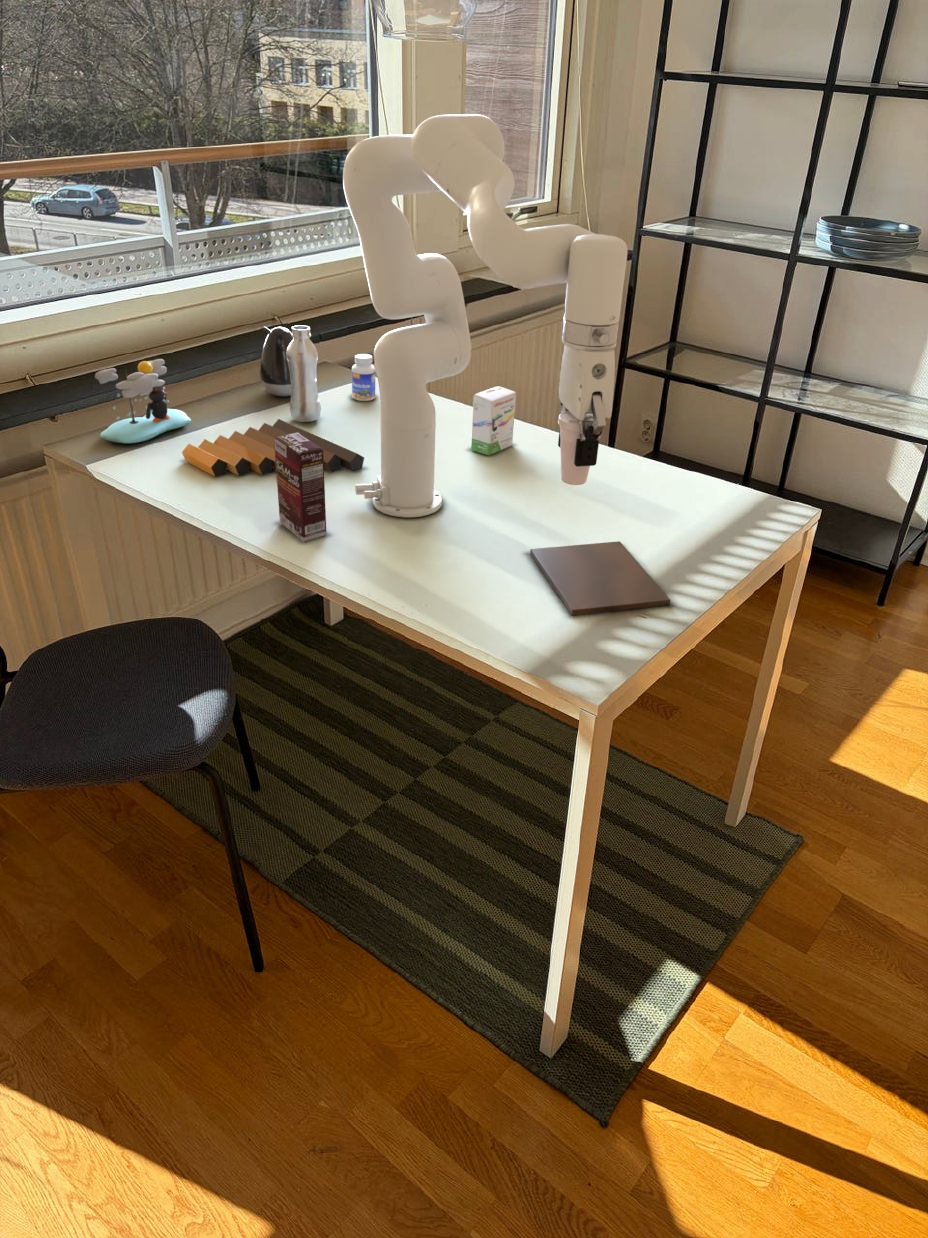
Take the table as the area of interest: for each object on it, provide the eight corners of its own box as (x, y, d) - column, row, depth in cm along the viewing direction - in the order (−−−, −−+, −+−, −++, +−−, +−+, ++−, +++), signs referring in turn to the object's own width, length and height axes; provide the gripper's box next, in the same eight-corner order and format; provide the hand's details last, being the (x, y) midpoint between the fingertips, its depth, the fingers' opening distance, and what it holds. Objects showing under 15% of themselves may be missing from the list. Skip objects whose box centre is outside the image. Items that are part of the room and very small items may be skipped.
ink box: (488, 456, 195) (492, 400, 189) (469, 450, 198) (472, 394, 192) (513, 445, 201) (517, 390, 195) (494, 439, 204) (498, 385, 197)
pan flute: (364, 467, 188) (286, 432, 202) (364, 451, 186) (285, 416, 200) (259, 502, 172) (182, 462, 186) (258, 485, 170) (180, 445, 185)
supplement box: (278, 523, 165) (272, 436, 157) (302, 517, 168) (298, 430, 159) (302, 543, 159) (298, 453, 151) (328, 536, 162) (324, 447, 154)
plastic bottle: (319, 425, 206) (315, 332, 196) (287, 424, 206) (282, 330, 196) (323, 415, 212) (319, 324, 201) (292, 414, 212) (287, 322, 201)
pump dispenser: (282, 382, 230) (278, 318, 222) (314, 392, 225) (311, 326, 217) (251, 393, 223) (246, 327, 215) (283, 403, 218) (279, 335, 210)
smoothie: (555, 469, 145) (564, 378, 138) (597, 474, 144) (608, 383, 137) (549, 485, 140) (558, 392, 133) (593, 491, 139) (604, 397, 132)
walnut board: (571, 615, 143) (572, 610, 142) (530, 554, 159) (530, 548, 159) (669, 605, 147) (670, 599, 146) (619, 546, 163) (619, 541, 162)
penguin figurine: (169, 413, 209) (161, 344, 201) (202, 425, 204) (195, 354, 196) (90, 438, 195) (77, 365, 187) (123, 451, 190) (112, 376, 182)
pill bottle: (349, 400, 221) (348, 358, 216) (355, 392, 226) (354, 351, 221) (372, 402, 220) (371, 360, 215) (377, 395, 225) (377, 353, 220)
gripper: (640, 349, 124) (622, 477, 134) (593, 315, 139) (580, 433, 148) (586, 351, 123) (572, 481, 132) (544, 316, 137) (534, 436, 146)
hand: (576, 454), depth 140 cm, fingers closed on smoothie, 6 cm apart
